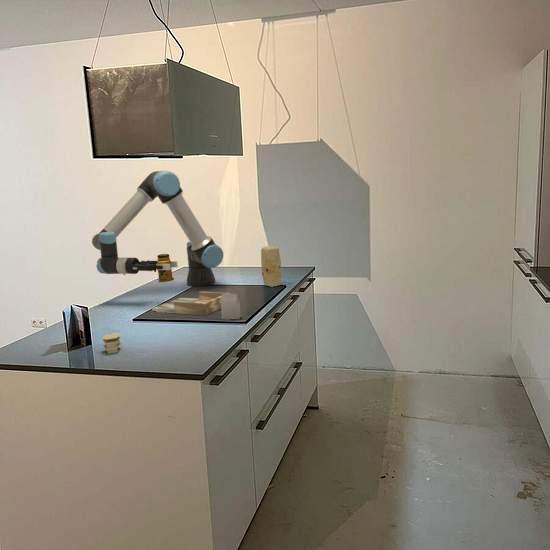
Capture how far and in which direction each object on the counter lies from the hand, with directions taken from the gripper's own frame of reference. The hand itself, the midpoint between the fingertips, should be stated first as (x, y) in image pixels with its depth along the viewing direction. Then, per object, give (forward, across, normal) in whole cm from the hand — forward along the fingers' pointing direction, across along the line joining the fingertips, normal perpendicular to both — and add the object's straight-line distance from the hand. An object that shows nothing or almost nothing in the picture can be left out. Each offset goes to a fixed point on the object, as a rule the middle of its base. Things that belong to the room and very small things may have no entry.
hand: (173, 265), depth 266 cm
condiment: (-5, -1, -7) cm, 9 cm away
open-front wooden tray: (+10, +5, -18) cm, 21 cm away
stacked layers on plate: (+9, +64, -19) cm, 68 cm away
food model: (+32, -40, -18) cm, 55 cm away
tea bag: (+35, +20, -18) cm, 44 cm away
